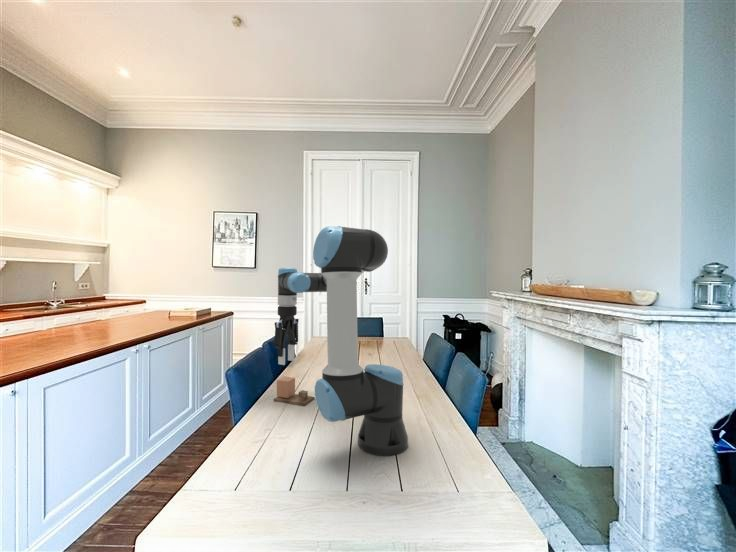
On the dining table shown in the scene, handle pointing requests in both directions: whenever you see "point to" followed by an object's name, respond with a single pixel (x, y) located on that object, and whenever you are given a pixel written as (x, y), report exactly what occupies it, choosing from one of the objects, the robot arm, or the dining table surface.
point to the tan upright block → (285, 387)
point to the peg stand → (297, 399)
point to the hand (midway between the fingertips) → (286, 362)
